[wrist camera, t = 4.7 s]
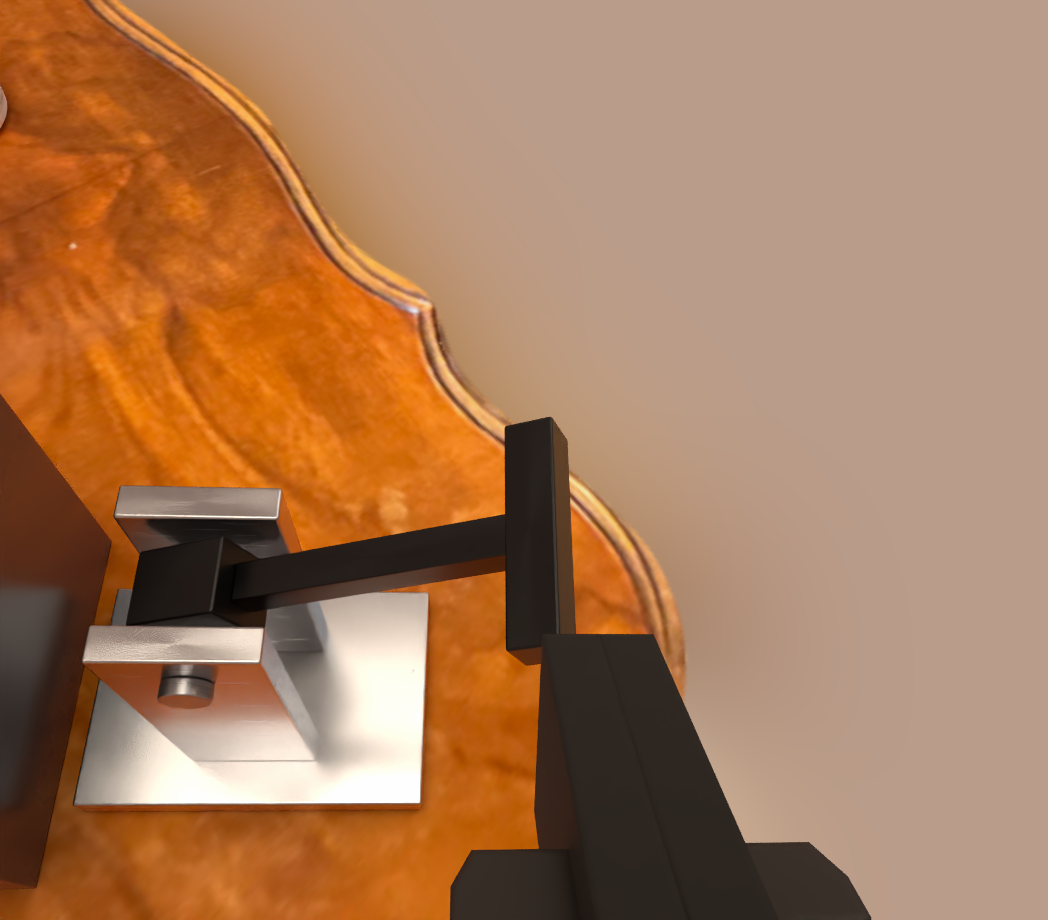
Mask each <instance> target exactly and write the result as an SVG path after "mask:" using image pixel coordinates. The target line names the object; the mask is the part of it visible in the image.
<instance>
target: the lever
mask: <svg viewBox="0 0 1048 920" xmlns="http://www.w3.org/2000/svg"><path fill="white" fill-rule="evenodd" d="M502 571H506V650H507V651H508V652H509V653H510V654H512V655H513V656H514V657H516V658H517V659H518V660H519V661H521V662H522V663H523V664H525V665H527V666H528V665H535V664H541V652H542V634H576V625H575V602H574V580H573V557H572V534H571V512H570V489H569V466H568V443H567V439H566V438H565V436H564V435H563V433H562V432H561V430H560V429H559V427H558V426H557V424H556V423H555V421H554V420H553V418H551V417H546V418H542V419H537V420H532V421H528V422H523V423H518V424H513V425H509V426H506V427H505V514H504V515H498V516H493V517H487V518H482V519H477V520H471V521H466V522H460V523H455V524H449V525H444V526H438V527H433V528H427V529H422V530H416V531H411V532H405V533H400V534H394V535H389V536H383V537H378V538H372V539H367V540H362V541H356V542H351V543H345V544H340V545H334V546H329V547H323V548H318V549H312V550H307V551H301V552H296V553H290V554H285V555H279V556H274V557H268V558H263V559H259V558H258V557H256V556H255V555H253V554H251V553H250V552H248V551H247V550H245V549H243V548H242V547H240V546H239V545H237V544H235V543H234V542H232V541H231V540H229V539H227V538H226V537H224V536H219V537H213V538H208V539H203V540H198V541H193V542H188V543H183V544H177V545H172V546H167V547H162V548H157V549H152V550H147V551H142V552H141V553H140V555H139V560H138V565H137V570H136V575H135V580H134V585H133V590H132V595H131V600H130V605H129V610H128V615H127V620H126V626H218V627H264V628H265V627H266V619H267V611H268V609H274V608H280V607H287V606H293V605H299V604H305V603H311V602H317V601H323V600H330V599H336V598H342V597H348V596H354V595H360V594H366V593H373V592H379V591H385V590H391V589H397V588H403V587H409V586H416V585H422V584H428V583H434V582H440V581H446V580H452V579H459V578H465V577H471V576H477V575H483V574H489V573H495V572H502Z"/></svg>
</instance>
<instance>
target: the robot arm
mask: <svg viewBox="0 0 1048 920" xmlns="http://www.w3.org/2000/svg"><path fill="white" fill-rule="evenodd" d="M534 812H535V820H536V829H537V837H538V845H539V849H516V850H471V852H470V854H469V855H468V857H467V859H466V861H465V862H464V864H463V866H462V868H461V869H460V871H459V873H458V875H457V876H456V878H455V880H454V881H453V883H452V885H451V895H450V920H871V916H870V915H869V913H868V911H867V909H866V908H865V906H864V904H863V902H862V901H861V899H860V897H859V896H858V894H857V892H856V890H855V888H854V887H853V885H852V883H851V882H850V879H849V878H848V876H847V875H846V874H844V873H843V872H842V871H841V870H840V869H839V868H837V867H836V866H835V865H834V864H833V863H832V862H831V861H830V860H828V859H827V858H826V857H825V856H824V855H823V854H822V853H821V852H819V851H818V850H817V849H816V848H815V847H814V846H813V845H811V844H810V843H809V842H788V843H745V841H744V839H743V837H742V835H741V832H740V830H739V828H738V825H737V823H736V821H735V818H734V816H733V814H732V812H731V809H730V808H729V805H728V803H727V800H726V798H725V796H724V793H723V791H722V789H721V787H720V785H719V782H718V780H717V778H716V775H715V773H714V771H713V769H712V766H711V764H710V762H709V760H708V757H707V755H706V753H705V750H704V748H703V746H702V744H701V741H700V739H699V737H698V734H697V732H696V730H695V728H694V725H693V723H692V721H691V719H690V716H689V714H688V712H687V710H686V707H685V705H684V703H683V700H682V698H681V696H680V694H679V691H678V689H677V687H676V685H675V682H674V680H673V678H672V675H671V673H670V671H669V669H668V666H667V664H666V662H665V660H664V657H663V655H662V653H661V651H660V648H659V646H658V644H657V641H656V639H655V637H654V635H653V634H542V652H541V674H540V696H539V718H538V741H537V763H536V785H535V807H534Z"/></svg>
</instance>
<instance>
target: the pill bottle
mask: <svg viewBox="0 0 1048 920" xmlns="http://www.w3.org/2000/svg"><path fill="white" fill-rule="evenodd" d="M6 114H7V101H6V98H5V95H4V92H3V90H2V88H1V86H0V128H1V126H2V124H3V123H4V121H5V117H6Z"/></svg>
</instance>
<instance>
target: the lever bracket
mask: <svg viewBox="0 0 1048 920" xmlns="http://www.w3.org/2000/svg"><path fill="white" fill-rule="evenodd" d="M113 516H114V518H115V520H116V521H117V523H118V524H119V525H120V527H121V528H122V530H123V531H124V532H125V534H126V535H127V537H128V538H129V539H130V541H131V542H132V544H133V545H134V547H135V548H136V549H137V551H138V552H139V554H140V553H141V552H142V551H147V550H152V549H157V548H162V547H167V546H172V545H177V544H183V543H188V542H193V541H198V540H203V539H208V538H213V537H219V536H224V537H226V538H227V539H229V540H231V541H232V542H234V543H235V544H237V545H239V546H240V547H242V548H243V549H245V550H247V551H248V552H250V553H251V554H253V555H255V556H256V557H258V558H259V559H263V558H268V557H274V556H279V555H285V554H290V553H296V552H301V551H302V549H301V546H300V543H299V540H298V537H297V534H296V531H295V528H294V525H293V522H292V519H291V516H290V513H289V510H288V507H287V504H286V501H285V498H284V495H283V492H282V489H279V488H226V487H174V486H120V488H119V493H118V497H117V502H116V506H115V511H114V515H113ZM132 590H133V589H118V591H117V595H116V600H115V605H114V609H113V614H112V619H111V624H110V626H106V625H92V626H89V628H88V633H87V637H86V642H85V646H84V651H83V655H82V660H81V662H82V664H83V665H85V666H86V667H87V668H88V669H89V670H90V671H91V672H93V673H94V674H95V675H96V676H97V677H98V678H99V681H98V686H97V691H96V696H95V700H94V705H93V710H92V715H91V719H90V724H89V729H88V734H87V739H86V743H85V748H84V753H83V758H82V762H81V767H80V772H79V777H78V782H77V786H76V791H75V796H74V801H73V806H75V807H77V808H79V809H81V810H83V811H243V810H420V809H422V802H423V774H424V747H425V719H426V691H427V663H428V635H429V607H430V601H429V593H427V592H373V593H366V594H360V595H354V596H348V597H342V598H336V599H330V600H323V601H317V602H311V603H305V604H299V605H293V606H287V607H280V608H274V609H268V611H267V619H266V627H265V628H264V627H218V626H126V620H127V615H128V610H129V605H130V600H131V595H132Z"/></svg>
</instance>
